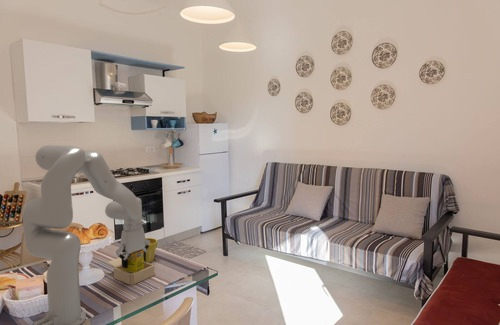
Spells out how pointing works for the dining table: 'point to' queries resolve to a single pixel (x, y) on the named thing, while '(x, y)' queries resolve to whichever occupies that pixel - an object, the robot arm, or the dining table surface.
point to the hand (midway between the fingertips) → (134, 263)
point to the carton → (134, 274)
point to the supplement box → (135, 262)
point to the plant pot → (151, 249)
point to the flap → (116, 262)
